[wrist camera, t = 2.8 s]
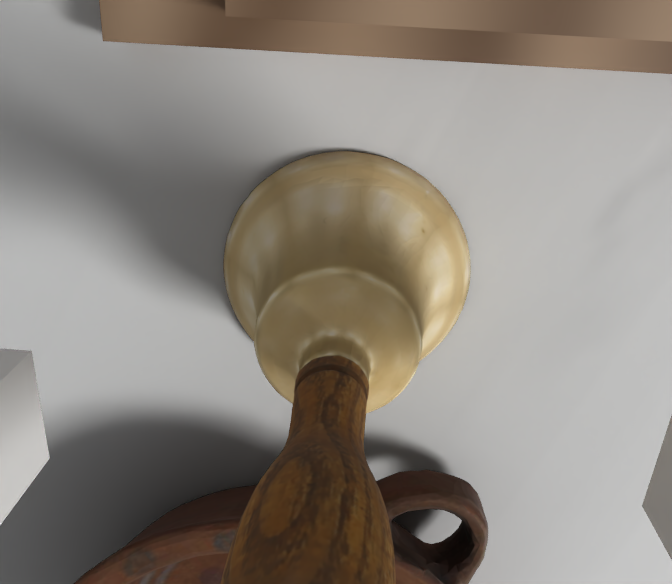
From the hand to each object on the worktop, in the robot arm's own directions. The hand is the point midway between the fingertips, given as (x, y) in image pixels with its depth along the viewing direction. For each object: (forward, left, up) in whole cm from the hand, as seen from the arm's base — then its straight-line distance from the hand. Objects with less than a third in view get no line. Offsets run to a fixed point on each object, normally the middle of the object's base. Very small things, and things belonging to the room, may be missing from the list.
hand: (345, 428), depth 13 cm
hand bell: (0, 0, -9) cm, 9 cm away
